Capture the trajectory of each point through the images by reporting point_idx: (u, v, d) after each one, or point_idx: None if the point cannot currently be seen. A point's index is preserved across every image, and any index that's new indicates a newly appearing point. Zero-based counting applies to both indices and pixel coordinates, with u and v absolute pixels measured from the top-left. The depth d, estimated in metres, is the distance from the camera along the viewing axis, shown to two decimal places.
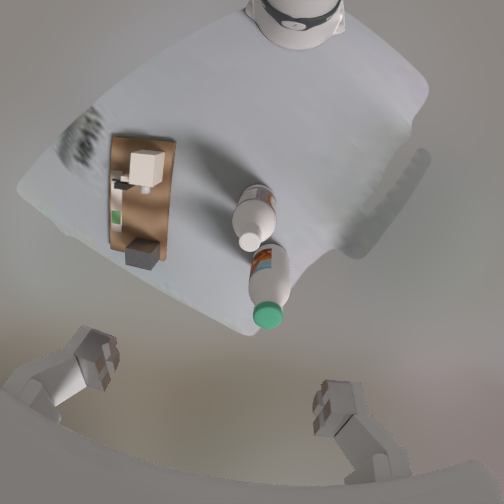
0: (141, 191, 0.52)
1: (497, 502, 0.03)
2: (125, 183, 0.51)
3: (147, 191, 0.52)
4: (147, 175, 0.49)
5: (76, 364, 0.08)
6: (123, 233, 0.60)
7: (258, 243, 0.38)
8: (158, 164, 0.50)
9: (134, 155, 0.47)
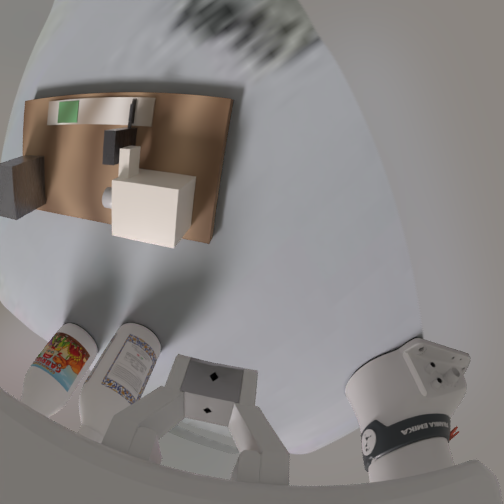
0: (106, 195, 0.23)
1: (497, 502, 0.03)
2: (117, 157, 0.22)
3: (107, 207, 0.24)
4: (132, 226, 0.23)
5: (182, 399, 0.08)
6: (46, 128, 0.24)
7: None
8: None
9: (172, 198, 0.21)
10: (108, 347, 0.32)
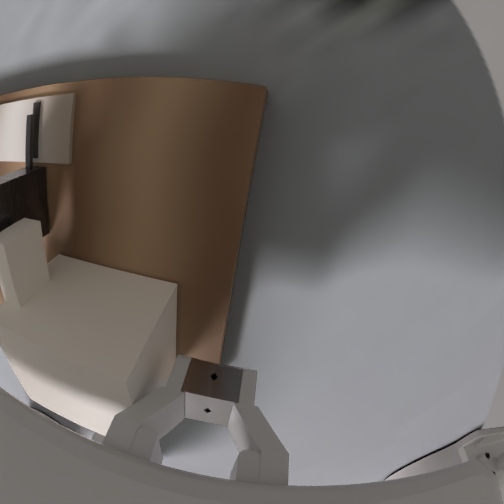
0: None
1: (497, 502, 0.03)
2: None
3: None
4: (56, 403, 0.08)
5: (183, 400, 0.08)
6: None
7: None
8: None
9: (116, 392, 0.07)
10: None
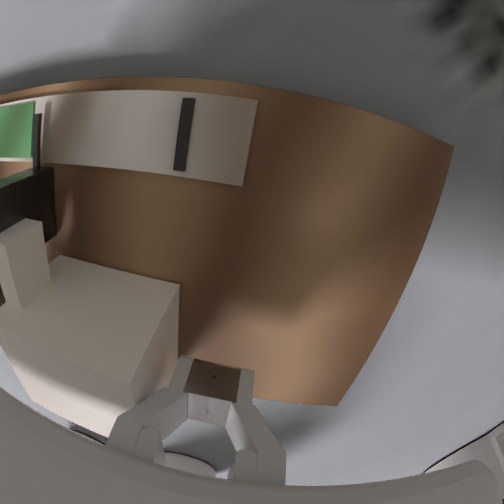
0: None
1: (497, 502, 0.03)
2: None
3: None
4: (58, 405, 0.08)
5: (185, 400, 0.08)
6: None
7: None
8: None
9: (119, 394, 0.07)
10: None
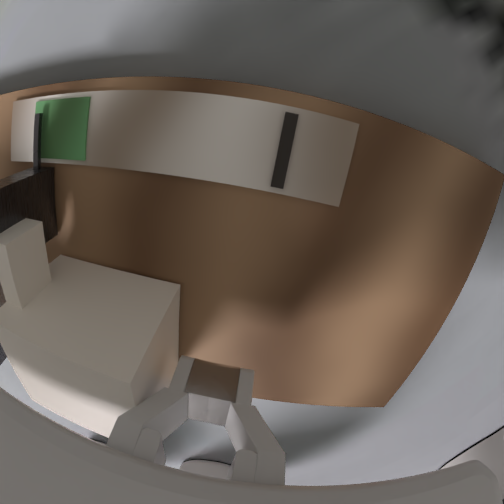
0: None
1: (497, 502, 0.03)
2: None
3: None
4: (58, 405, 0.08)
5: (186, 401, 0.08)
6: (11, 168, 0.09)
7: None
8: None
9: (120, 394, 0.07)
10: None
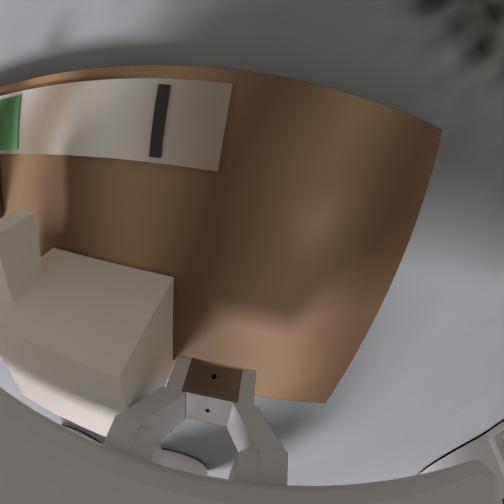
0: None
1: (497, 502, 0.03)
2: None
3: None
4: (50, 401, 0.08)
5: (183, 400, 0.08)
6: None
7: None
8: None
9: (109, 389, 0.06)
10: None
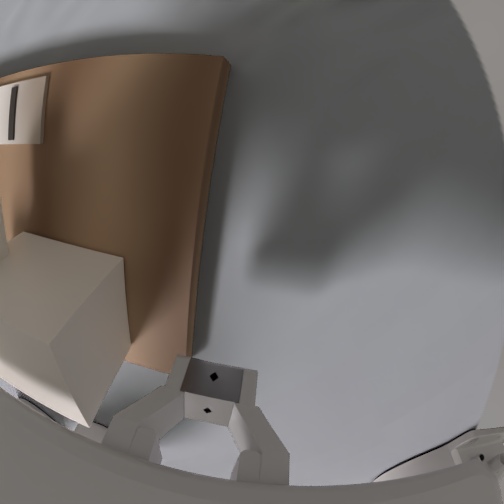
0: None
1: (497, 502, 0.03)
2: None
3: None
4: (10, 374, 0.08)
5: (182, 399, 0.08)
6: None
7: None
8: None
9: (46, 357, 0.06)
10: None
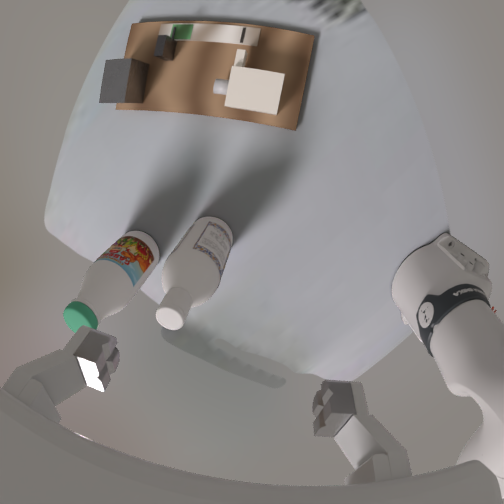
0: (217, 82, 0.30)
1: (497, 502, 0.03)
2: (164, 52, 0.28)
3: (216, 91, 0.30)
4: (244, 98, 0.29)
5: (76, 364, 0.08)
6: (155, 43, 0.30)
7: (170, 328, 0.27)
8: (259, 111, 0.31)
9: (279, 79, 0.28)
10: (189, 231, 0.38)
